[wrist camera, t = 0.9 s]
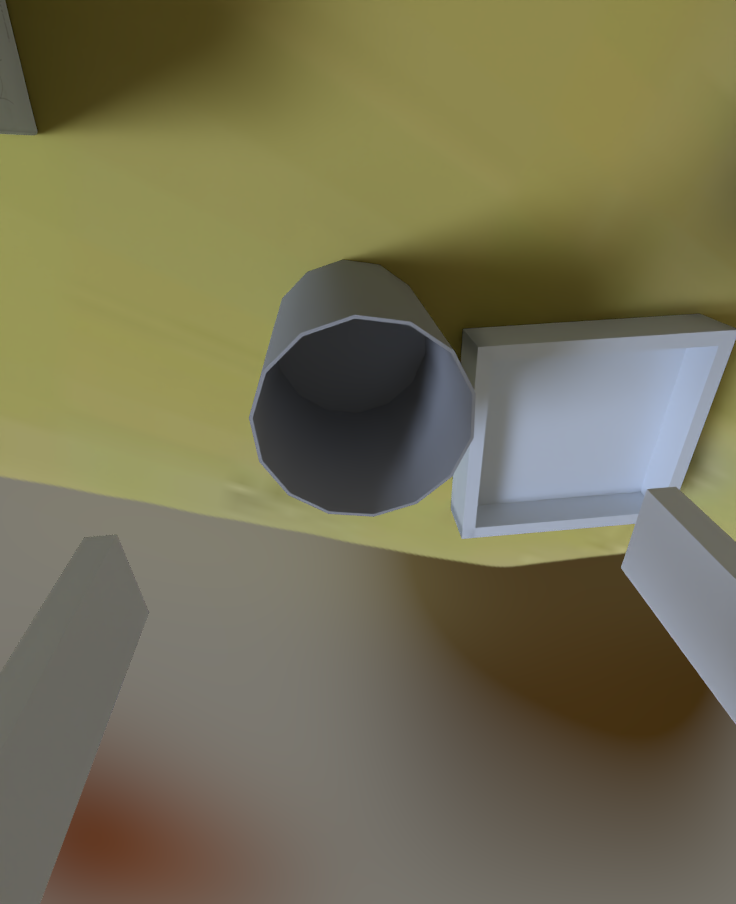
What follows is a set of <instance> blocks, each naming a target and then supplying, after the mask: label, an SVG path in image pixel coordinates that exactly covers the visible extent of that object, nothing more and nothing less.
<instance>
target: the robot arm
mask: <svg viewBox="0 0 736 904" xmlns="http://www.w3.org/2000/svg"><path fill="white" fill-rule="evenodd" d="M621 568H622V570H623V571H624V572H625V574H626V575H627V577H628V578H629V579H630V581H631V582H632V583H633V585H634V586H635V587H636V589H637V590H638V592H639V593H640V594H641V596H642V597H643V598H644V600H645V601H646V602H647V604H648V605H649V607H650V608H651V609H652V611H653V612H654V613H655V615H656V616H657V618H658V619H659V620H660V622H661V623H662V624H663V626H664V627H665V628H666V630H667V631H668V633H669V634H670V635H671V637H672V638H673V639H674V641H675V642H676V643H677V645H678V646H679V647H680V649H681V650H682V652H683V653H684V654H685V656H686V657H687V658H688V659H689V661H690V663H691V664H692V665H693V666H694V668H695V669H696V670H697V672H698V673H699V675H700V676H701V678H702V679H703V680H704V682H705V683H706V684H707V686H708V687H709V688H710V690H711V691H712V693H713V694H714V695H715V697H716V698H717V699H718V701H719V702H720V703H721V705H722V706H723V707H724V709H725V710H726V711H727V713H728V714H729V716H730V717H731V718H732V720H733V721H734V723H735V724H736V542H735V541H734V540H733V539H732V538H731V537H730V536H729V535H728V534H727V533H725V532H724V531H723V530H722V529H721V528H720V527H719V526H718V525H717V524H716V523H715V522H714V521H712V520H711V519H710V518H709V517H708V516H707V515H706V514H705V513H704V512H703V511H702V510H701V509H700V508H698V507H697V506H696V505H695V504H694V503H693V502H692V501H691V500H690V499H689V498H688V497H687V496H685V495H684V494H683V493H682V492H681V491H680V490H679V489H678V488H677V487H665V488H654V489H647V490H646V493H645V496H644V499H643V502H642V505H641V508H640V511H639V515H638V518H637V521H636V524H635V527H634V530H633V533H632V536H631V539H630V542H629V545H628V548H627V551H626V555H625V558H624V561H623V564H622V567H621ZM148 614H149V611H148V609H147V606H146V603H145V601H144V599H143V596H142V594H141V591H140V589H139V586H138V584H137V582H136V579H135V577H134V574H133V572H132V570H131V567H130V565H129V562H128V560H127V557H126V555H125V553H124V550H123V548H122V545H121V543H120V540H119V538H118V536H117V535H106V536H96V537H95V536H94V537H84V539H83V540H82V542H81V543H80V545H79V547H78V548H77V550H76V552H75V553H74V555H73V556H72V558H71V560H70V561H69V563H68V564H67V566H66V568H65V569H64V571H63V573H62V574H61V576H60V577H59V579H58V581H57V582H56V584H55V585H54V587H53V589H52V590H51V592H50V594H49V595H48V597H47V598H46V600H45V601H44V603H43V605H42V606H41V608H40V610H39V611H38V613H37V614H36V616H35V618H34V619H33V621H32V623H31V624H30V626H29V627H28V629H27V631H26V632H25V634H24V636H23V637H22V639H21V640H20V642H19V643H18V645H17V647H16V648H15V650H14V652H13V653H12V655H11V656H10V658H9V660H8V661H7V663H6V665H5V666H4V668H3V669H2V671H1V672H0V904H40V902H41V899H42V897H43V894H44V891H45V889H46V886H47V883H48V881H49V878H50V875H51V873H52V870H53V867H54V864H55V862H56V859H57V857H58V854H59V851H60V848H61V845H62V843H63V841H64V838H65V835H66V833H67V830H68V827H69V825H70V822H71V819H72V817H73V814H74V811H75V808H76V806H77V803H78V801H79V798H80V795H81V793H82V790H83V787H84V785H85V782H86V779H87V777H88V774H89V771H90V769H91V766H92V763H93V761H94V758H95V755H96V753H97V750H98V747H99V745H100V742H101V739H102V737H103V734H104V731H105V729H106V726H107V723H108V721H109V718H110V715H111V713H112V710H113V708H114V705H115V702H116V700H117V697H118V694H119V691H120V689H121V686H122V684H123V681H124V678H125V676H126V673H127V670H128V667H129V665H130V662H131V660H132V657H133V654H134V652H135V649H136V646H137V644H138V641H139V638H140V636H141V633H142V630H143V628H144V625H145V622H146V620H147V617H148Z"/></svg>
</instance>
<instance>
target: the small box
mask: <svg viewBox="0 0 736 904" xmlns="http://www.w3.org/2000/svg"><path fill="white" fill-rule="evenodd" d="M0 134H16V135H36V134H37V127H36V124H35V120H34V116H33V112H32V108H31V104H30V100H29V96H28V92H27V88H26V84H25V80H24V75H23V71H22V67H21V63H20V59H19V55H18V51H17V47H16V43H15V39H14V35H13V31H12V26H11V22H10V18H9V14H8V10H7V6H6V1H5V0H0Z"/></svg>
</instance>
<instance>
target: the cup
mask: <svg viewBox="0 0 736 904" xmlns="http://www.w3.org/2000/svg"><path fill="white" fill-rule="evenodd" d="M475 398H476V393H475V391H474V389H473V387H472V385H471V383H470V381H469V379H468V377H467V375H466V373H465V371H464V369H463V367H462V365H461V363H460V361H459V359H458V357H457V355H456V353H455V351H454V350H453V348H452V347H451V345H450V344H449V343H448V341H447V340H446V338H445V337H444V335H443V334H442V333H441V331H440V330H439V328H438V327H437V325H436V324H435V322H434V321H433V320H432V318H431V317H430V315H429V314H428V312H427V311H426V310H425V308H424V307H423V305H422V304H421V302H420V301H419V299H418V298H417V297H416V295H415V294H414V292H413V291H412V289H411V288H410V286H409V285H407V284H406V283H405V282H403V281H402V280H400V279H399V278H397V277H396V276H395V275H393V274H392V273H390V272H389V271H388V270H386V269H385V268H383V267H382V266H381V265H378V264H371V263H364V262H356V261H349V260H340V261H337V262H334V263H331V264H328V265H326V266H323V267H320V268H317V269H314V270H311V271H309V272H307V273H306V274H305V275H304V276H303V277H302V278H301V279H300V280H299V281H298V282H297V283H296V284H295V286H294V287H293V288H292V289H291V290H290V291H289V292H288V293H287V294H286V295H285V296H284V297H283V298H282V301H281V305H280V308H279V312H278V315H277V318H276V322H275V325H274V329H273V332H272V336H271V339H270V343H269V347H268V350H267V354H266V358H265V361H264V365H263V369H262V372H261V376H260V380H259V383H258V387H257V391H256V394H255V398H254V402H253V405H252V409H251V412H250V416H249V420H250V424H251V428H252V432H253V437H254V441H255V445H256V449H257V454H258V458H259V462H260V463H261V464H262V465H263V466H264V468H265V469H266V470H267V471H268V472H269V473H270V475H271V476H272V477H273V478H274V479H275V480H276V481H277V483H278V484H279V485H280V486H281V487H282V488H283V490H284V491H285V492H286V493H287V494H288V495H289V496H291V497H294V498H296V499H298V500H300V501H302V502H304V503H307V504H309V505H311V506H313V507H315V508H317V509H319V510H322V511H324V512H326V513H328V514H341V515H357V516H373V517H374V516H377V515H380V514H384V513H387V512H390V511H394V510H397V509H400V508H404V507H407V506H410V505H414V504H417V503H418V502H419V501H421V500H422V499H423V498H425V497H426V496H427V495H429V494H430V493H431V492H432V491H434V490H435V489H436V488H438V487H439V486H440V485H442V484H443V483H444V482H445V481H447V480H448V479H449V478H451V477H452V476H453V474H454V472H455V470H456V469H457V467H458V465H459V463H460V462H461V460H462V458H463V456H464V454H465V453H466V451H467V449H468V447H469V445H470V444H471V442H472V440H473V438H474V421H475Z"/></svg>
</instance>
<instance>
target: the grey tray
mask: <svg viewBox="0 0 736 904" xmlns="http://www.w3.org/2000/svg"><path fill="white" fill-rule="evenodd" d="M735 340H736V328H734V327H731V326H729V325H727V324H724V323H722V322H719V321H717V320H714V319H712V318H709V317H707V316H705V315H702V314H686V315H671V316H655V317H639V318H624V319H608V320H593V321H577V322H561V323H546V324H530V325H514V326H499V327H483V328H468V329H463V335H462V350H461V365H462V367H463V369H464V371H465V373H466V375H467V377H468V379H469V381H470V383H471V385H472V387H473V389H474V391H475V393H476V398H475V421H474V438H473V440H472V442H471V444H470V445H469V447H468V449H467V451H466V453H465V454H464V456H463V458H462V460H461V462H460V463H459V465H458V467H457V469H456V470H455V472H454V474H453V485H452V501H451V511H452V514H453V516H454V519H455V522H456V524H457V527H458V530H459V532H460V535H461V538H462V539H465V538H476V537H487V536H499V535H510V534H522V533H533V532H545V531H556V530H568V529H579V528H591V527H602V526H614V525H625V524H636V521H637V518H638V515H639V511H640V508H641V505H642V502H643V499H644V496H645V493H646V490H647V489H654V488H665V487H677V488H678V489H679V490H680V488H681V485H682V483H683V480H684V477H685V474H686V472H687V469H688V466H689V464H690V461H691V458H692V456H693V453H694V450H695V448H696V445H697V442H698V439H699V437H700V434H701V431H702V429H703V426H704V423H705V421H706V418H707V415H708V413H709V410H710V407H711V404H712V402H713V399H714V396H715V394H716V391H717V388H718V386H719V383H720V380H721V378H722V375H723V372H724V369H725V367H726V364H727V361H728V359H729V356H730V353H731V351H732V348H733V345H734V343H735Z"/></svg>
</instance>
